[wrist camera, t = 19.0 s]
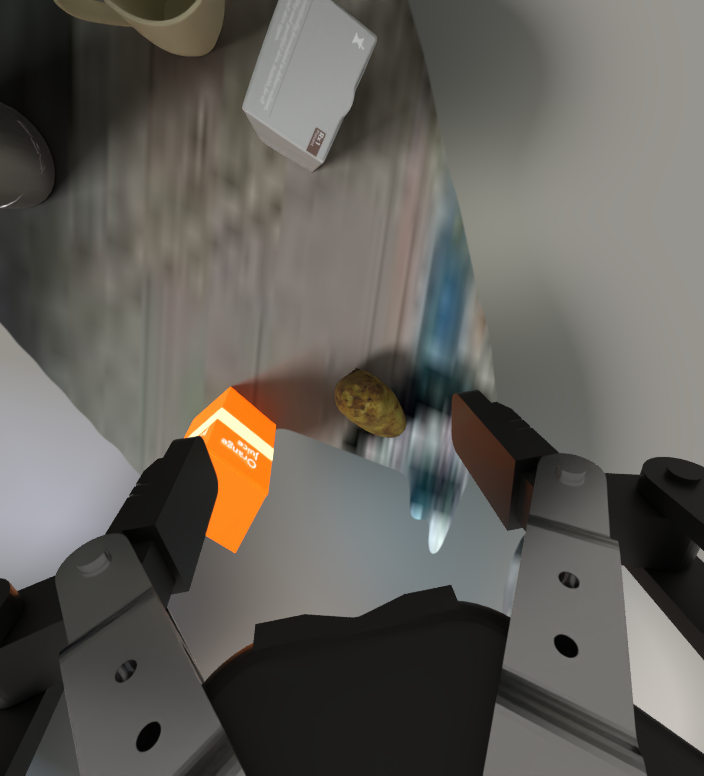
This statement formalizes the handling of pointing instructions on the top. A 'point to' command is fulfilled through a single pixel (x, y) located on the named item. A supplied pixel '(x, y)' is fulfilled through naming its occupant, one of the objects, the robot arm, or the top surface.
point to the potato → (370, 404)
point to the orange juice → (236, 463)
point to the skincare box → (307, 78)
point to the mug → (159, 20)
